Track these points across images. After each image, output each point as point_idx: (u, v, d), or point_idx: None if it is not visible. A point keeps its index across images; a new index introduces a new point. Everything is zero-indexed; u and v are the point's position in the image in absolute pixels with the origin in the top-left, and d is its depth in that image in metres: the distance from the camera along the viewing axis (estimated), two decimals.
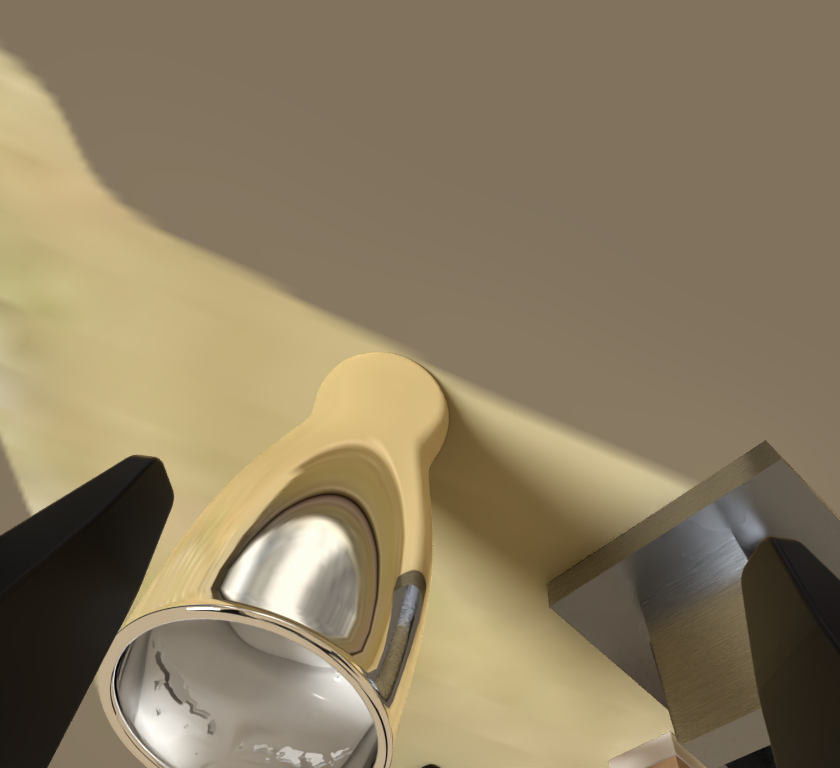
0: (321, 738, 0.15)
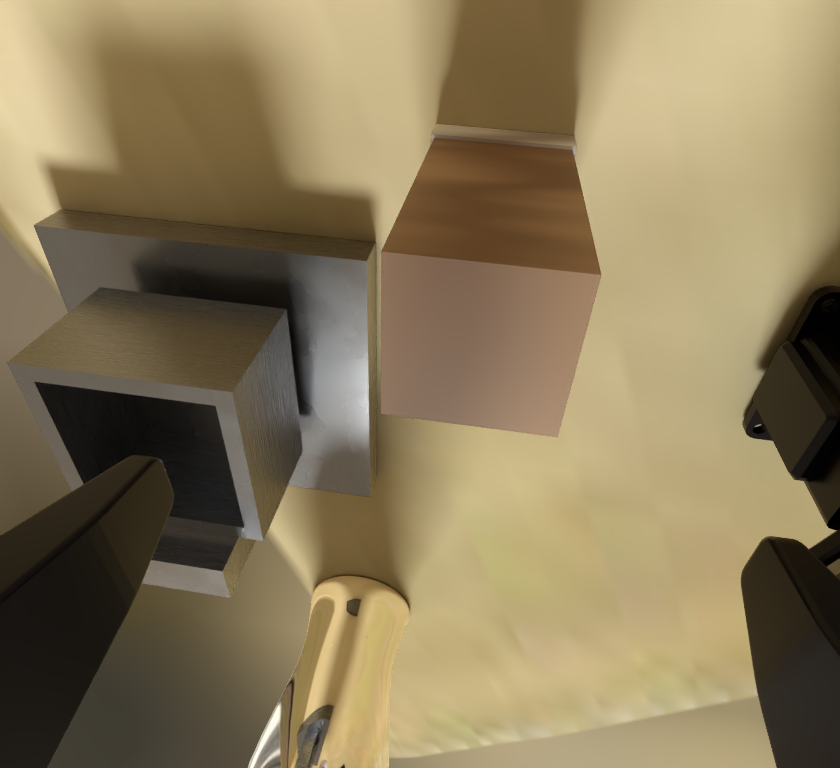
0: None
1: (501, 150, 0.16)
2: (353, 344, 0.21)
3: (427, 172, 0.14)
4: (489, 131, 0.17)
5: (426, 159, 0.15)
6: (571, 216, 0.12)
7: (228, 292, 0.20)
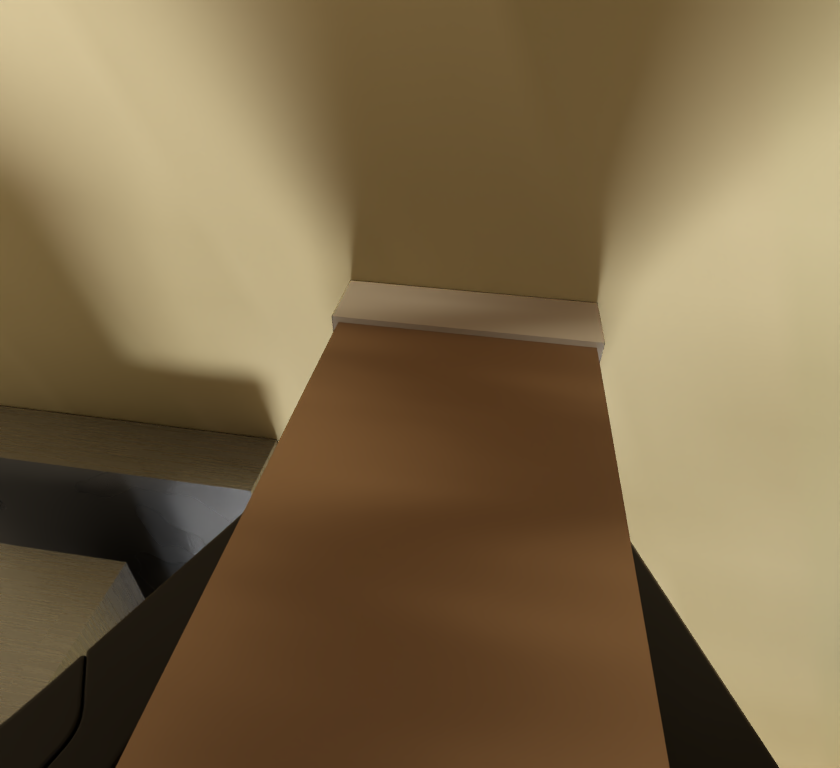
0: None
1: (459, 359, 0.08)
2: None
3: (286, 466, 0.06)
4: (442, 300, 0.09)
5: (300, 407, 0.07)
6: (614, 700, 0.05)
7: (50, 515, 0.13)
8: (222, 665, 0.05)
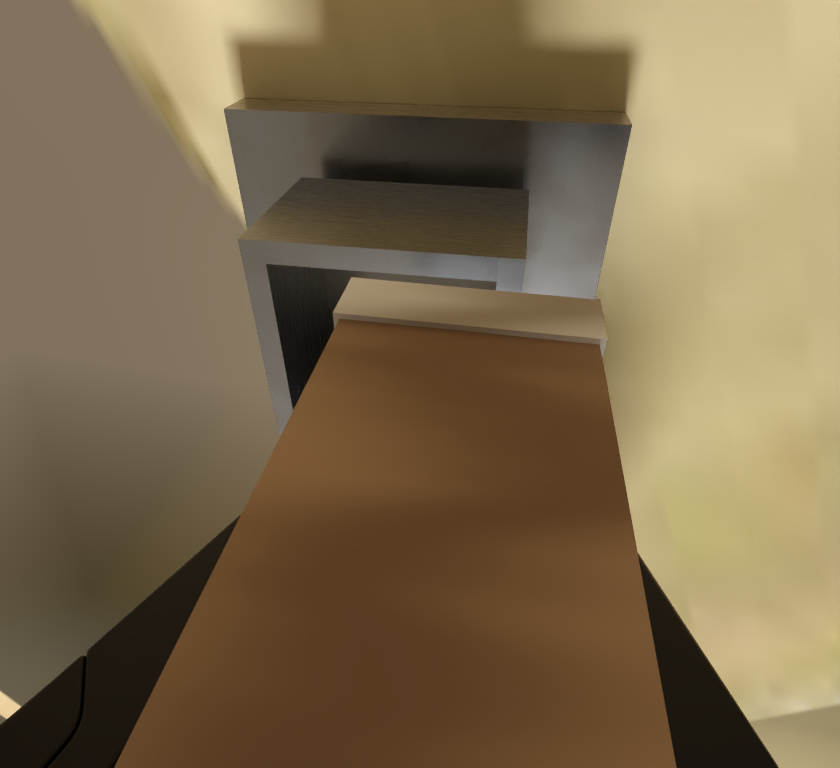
0: None
1: (461, 356, 0.08)
2: (588, 241, 0.18)
3: (286, 463, 0.06)
4: (444, 297, 0.09)
5: (301, 403, 0.07)
6: (621, 700, 0.04)
7: (445, 181, 0.17)
8: (222, 663, 0.05)
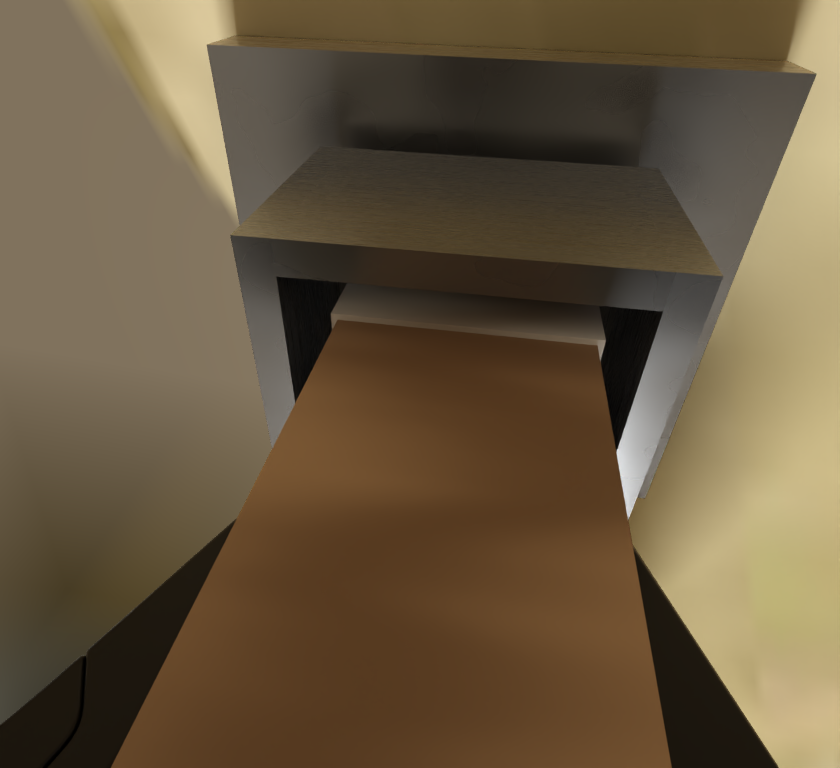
0: None
1: (459, 357, 0.08)
2: (721, 244, 0.13)
3: (284, 464, 0.06)
4: (442, 298, 0.09)
5: (298, 404, 0.07)
6: (616, 700, 0.04)
7: (526, 156, 0.12)
8: (219, 664, 0.05)
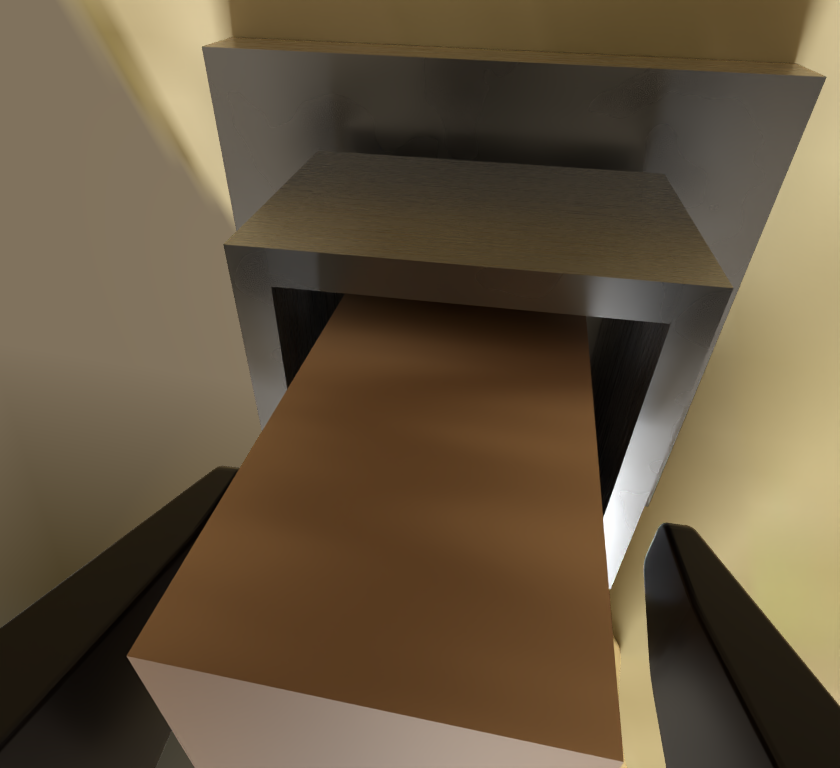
0: None
1: None
2: (727, 250, 0.12)
3: (327, 347, 0.08)
4: None
5: (338, 311, 0.09)
6: (568, 485, 0.06)
7: (528, 161, 0.12)
8: (286, 457, 0.07)
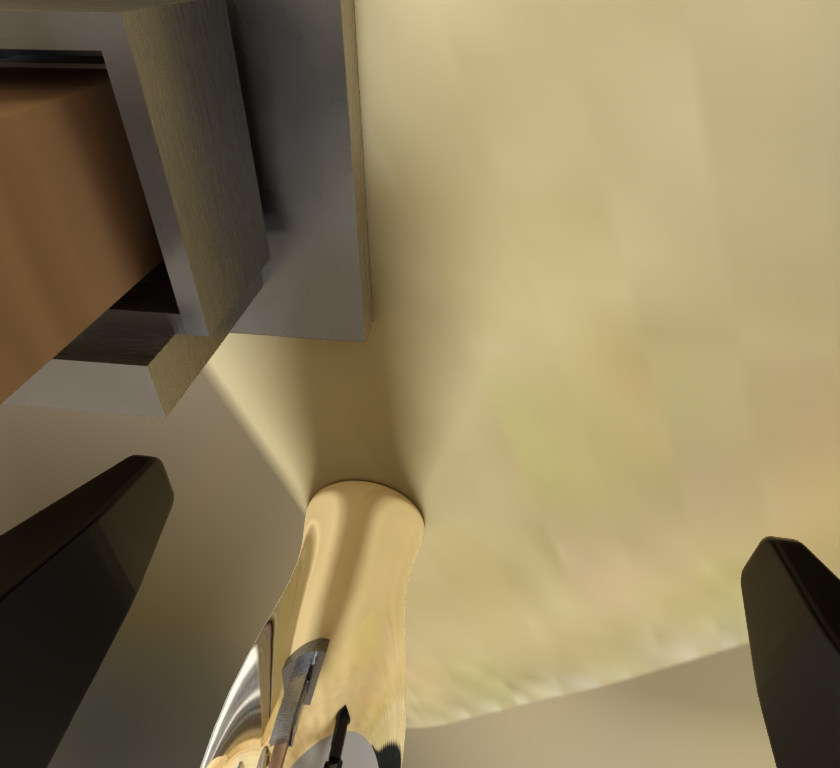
0: None
1: (51, 73, 0.13)
2: (326, 76, 0.15)
3: None
4: (72, 57, 0.14)
5: None
6: None
7: None
8: None
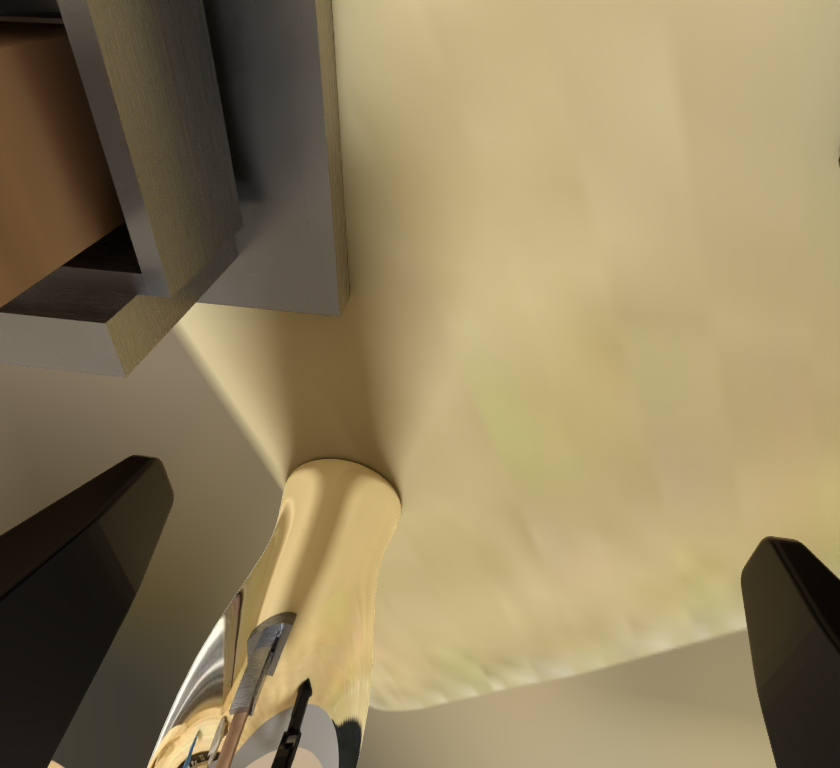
0: None
1: (16, 25, 0.13)
2: (298, 42, 0.15)
3: None
4: (41, 13, 0.14)
5: None
6: None
7: None
8: None
